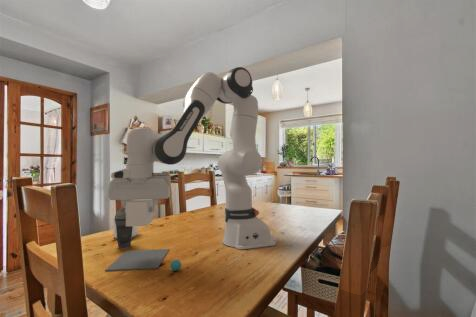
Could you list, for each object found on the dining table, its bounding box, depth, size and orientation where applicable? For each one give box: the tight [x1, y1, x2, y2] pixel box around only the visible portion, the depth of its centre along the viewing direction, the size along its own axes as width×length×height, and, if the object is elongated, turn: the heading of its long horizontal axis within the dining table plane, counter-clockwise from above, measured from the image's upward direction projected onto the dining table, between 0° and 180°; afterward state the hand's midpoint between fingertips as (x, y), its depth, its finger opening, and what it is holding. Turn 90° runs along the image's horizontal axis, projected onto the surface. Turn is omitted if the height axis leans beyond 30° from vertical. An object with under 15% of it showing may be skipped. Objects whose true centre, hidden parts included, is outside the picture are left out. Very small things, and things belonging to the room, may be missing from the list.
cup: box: [113, 215, 139, 240], centre depth 106 cm, size 10×10×10 cm
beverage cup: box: [113, 204, 133, 250], centre depth 93 cm, size 7×7×20 cm
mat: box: [104, 248, 170, 272], centre depth 79 cm, size 16×16×1 cm
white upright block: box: [126, 199, 154, 227], centre depth 80 cm, size 7×7×8 cm
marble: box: [170, 259, 182, 272], centre depth 71 cm, size 3×3×3 cm
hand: (140, 212), depth 80 cm, fingers closed on white upright block, 7 cm apart
